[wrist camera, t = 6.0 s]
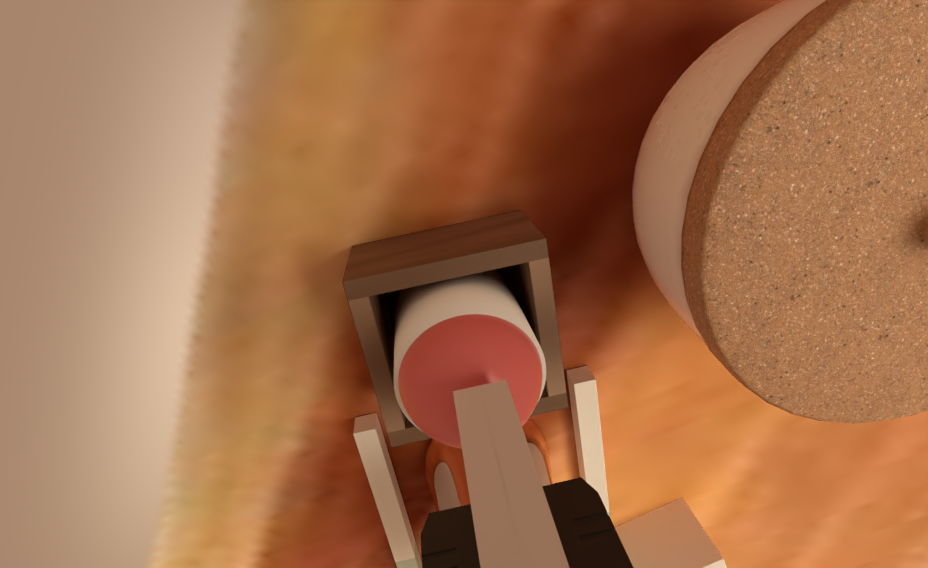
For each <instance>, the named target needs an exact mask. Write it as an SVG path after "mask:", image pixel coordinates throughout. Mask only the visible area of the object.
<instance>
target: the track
mask: <svg viewBox="0 0 928 568" xmlns="http://www.w3.org/2000/svg"><path fill="white" fill-rule="evenodd" d="M566 372H567V380H568V388H569V396H570V404H571V411H572V419H573V427H574V435H575V443H576V450H577V458H578V466H579V474H580V478H583V479H584V480H585V481H586V482H587V483H588V484H589V485H590V486H592V487H593V488H594V489H595V490H596V491H597V492H598V493H599V495H600V497H601V500H602V502H603V504H604V506H605V508H606V510H607V513H608V516H609V517H610V511H609V502H608V492H607V482H606V473H605V463H604V454H603V444H602V434H601V425H600V415H599V405H598V396H597V386H596V379H595V377H594V376H593V374H592V373H591V371H590V370H589V368H588V366H583V367H579V368H574V369H570V370H566ZM353 435H354V438H355V441H356V444H357V447H358V450H359V453H360V456H361V459H362V463H363V466H364V469H365V472H366V475H367V478H368V481H369V484H370V487H371V490H372V493H373V496H374V499H375V502H376V505H377V508H378V511H379V514H380V517H381V520H382V523H383V526H384V529H385V532H386V535H387V538H388V541H389V545H390V548H391V551H392V554H393V557H394V560H395V563H396V566H397V568H422V561H421V558H420V555H419V551H418V548H417V545H416V542H415V538H414V535H413V532H412V528H411V525H410V522H409V518H408V515H407V512H406V508H405V505H404V502H403V499H402V495H401V492H400V489H399V485H398V482H397V479H396V475H395V472H394V469H393V465H392V462H391V459H390V456H389V452H388V449H387V446H386V442H385V439H384V436H383V432H382V429H381V426H380V422H379V419H378V416H377V413H373V414H369V415H364V416H360V417H355V423H354V431H353Z"/></svg>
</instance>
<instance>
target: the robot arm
mask: <svg viewBox="0 0 928 568" xmlns="http://www.w3.org/2000/svg"><path fill="white" fill-rule="evenodd" d="M453 395H454V402H455V408H456V414H457V421H458V427H459V433H460V440H461V446H462V453H463V459H464V465H465V472H466V478H467V484H468V491H469V497H470V503H471V504H468V505H464V506H460V507H455V508H451V509H446V510H442V511H437V512H433V513H429V515H428V518H427V520H426V522H425V525H424V527H423V530H422V532H421V551H422V568H633V566H632V564H631V562H630V560H629V558H628V556H627V553H626V551H625V549H624V547H623V545H622V543H621V541H620V538H619V536H618V534H617V532H616V531H615V528H614V525H613V523H612V521H611V519H610V517H609V516H608V513H607V510H606V508H605V506H604V504H603V502H602V500H601V497H600V495H599V493H598V492H597V491H596V490H595V489H594V488H593V487H592V486H590V485H589V484H588V483H587V482H586V481H585V480H584V479H583V478H577V479H572V480H568V481H564V482H559V483H555V484H550V485H546V486H542V484H541V481H540V478H539V476H538V473H537V470H536V467H535V464H534V461H533V458H532V455H531V452H530V449H529V446H528V443H527V440H526V437H525V434H524V431H523V428H522V425H521V422H520V419H519V416H518V413H517V410H516V407H515V404H514V401H513V398H512V395H511V392H510V389H509V386H508V383H507V380H502V381H498V382H493V383H488V384H484V385H479V386H475V387H470V388H466V389H461V390H457V391H453Z"/></svg>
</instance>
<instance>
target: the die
mask: <svg viewBox="0 0 928 568" xmlns="http://www.w3.org/2000/svg"><path fill="white" fill-rule="evenodd" d="M615 529H616V531H617V534H618V536H619V538H620V540H621V542H622V544H623V546H624V548H625V550H626V552H627V555H628V557H629V559H630V561H631V563H632V565H633V567H634V568H727V566H726V564H725V561H724V559H723V557H722V556H721V554H720V553H719V551H718V550H717V548H716V547H715V545H714V544H713V542H712V541H711V539H710V538H709V536H708V535H707V533H706V532H705V530H704V529H703V527H702V526H701V524H700V523H699V521H698V520H697V518H696V517H695V515H694V514H693V512H692V511H691V509H690V508H689V506H688V505H687V503H686V502H685V500H684V499H683V497H682V498H680V499H677V500H675V501H673V502H671V503H668V504H666V505H664V506H662V507H659V508H657V509H655V510H653V511H650V512H648V513H646V514H644V515H641V516H639V517H637V518H635V519H632V520H630V521H628V522H626V523H624V524H621V525H619V526H617V527H615Z"/></svg>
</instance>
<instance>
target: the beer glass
mask: <svg viewBox="0 0 928 568" xmlns="http://www.w3.org/2000/svg"><path fill="white" fill-rule="evenodd" d="M522 428H523V431H524V434H525V437H526V440H527V443H528V446H529V449H530V452H531V455H532V458H533V461H534V464H535V467H536V470H537V473H538V476H539V478H540V481H541V484H542V486H546V485H550V484H553V480H552V474H551V466H550V458H549V451H548V447H547V443H546V440H545V438H544V436H543V434H542V432H541V431H540V429H539V428H538V427H537V426H536V425H535V424H534V423H533V422H532V421H531V420H530V419H528V420H527V422H526V423H525V424H524V425H523V426H522ZM425 474H426V479H427V482H428V486H429V489H430V492H431V495H432V498H433V501H434V504H435V507H436V511H442V510H446V509H451V508H455V507H460V506H464V505H468V504H471V503H470V497H469V491H468V484H467V478H466V472H465V465H464V459H463V453H462V449H460V448H454V447H451V446H447V445H445V444H442V443H440V442H437V441H436V440H434V439H432V440H431V442H430V444H429V446H428V449H427V452H426V457H425Z"/></svg>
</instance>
